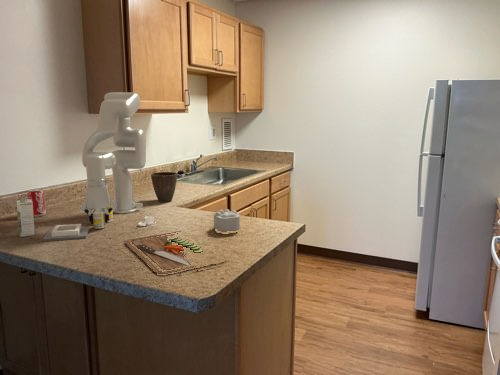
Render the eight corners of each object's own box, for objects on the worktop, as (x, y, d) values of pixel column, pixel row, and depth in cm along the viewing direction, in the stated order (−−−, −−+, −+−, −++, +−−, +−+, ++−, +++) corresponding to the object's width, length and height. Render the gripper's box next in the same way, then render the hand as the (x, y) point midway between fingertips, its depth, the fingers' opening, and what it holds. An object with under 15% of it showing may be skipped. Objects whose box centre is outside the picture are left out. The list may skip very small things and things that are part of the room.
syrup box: (19, 233, 169) (15, 200, 166) (35, 231, 172) (31, 198, 169) (19, 237, 164) (15, 202, 162) (35, 235, 167) (32, 201, 164)
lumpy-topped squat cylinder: (219, 235, 169) (219, 215, 168) (210, 227, 181) (210, 208, 180) (242, 232, 174) (242, 213, 172) (231, 224, 185) (231, 206, 184)
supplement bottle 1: (97, 229, 175) (95, 208, 173) (91, 227, 178) (89, 206, 176) (108, 226, 179) (107, 205, 177) (102, 224, 182) (100, 203, 180)
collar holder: (89, 228, 177) (89, 222, 176) (86, 238, 164) (85, 231, 163) (49, 231, 173) (49, 224, 172) (42, 241, 159) (42, 234, 159)
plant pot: (146, 201, 231) (145, 173, 228) (167, 197, 242) (166, 171, 239) (162, 205, 222) (161, 176, 219) (183, 200, 233) (182, 173, 230)
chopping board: (236, 264, 139) (236, 256, 138) (162, 281, 124) (162, 272, 124) (183, 231, 176) (183, 224, 175) (121, 241, 161) (121, 234, 161)
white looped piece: (137, 228, 179) (137, 219, 179) (138, 223, 187) (137, 215, 186) (157, 227, 181) (157, 218, 181) (157, 222, 189) (157, 214, 188)
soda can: (39, 217, 194) (36, 191, 191) (26, 216, 195) (23, 190, 193) (49, 214, 201) (46, 188, 198) (36, 213, 202) (34, 188, 200)
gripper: (117, 180, 180) (120, 219, 184) (76, 182, 176) (79, 221, 179) (117, 183, 173) (119, 224, 177) (74, 185, 169) (77, 226, 172)
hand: (99, 222), depth 178 cm, fingers closed on supplement bottle 1, 5 cm apart
